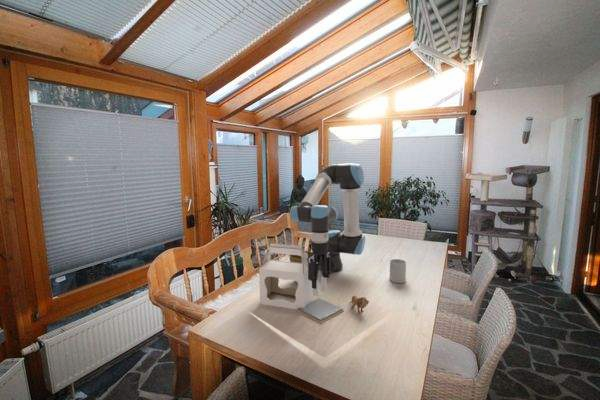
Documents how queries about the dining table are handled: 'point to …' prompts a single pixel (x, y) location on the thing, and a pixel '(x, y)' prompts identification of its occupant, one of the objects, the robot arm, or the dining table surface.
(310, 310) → the pad
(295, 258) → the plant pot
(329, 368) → the dining table surface
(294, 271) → the gable box
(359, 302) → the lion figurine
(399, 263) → the mug
